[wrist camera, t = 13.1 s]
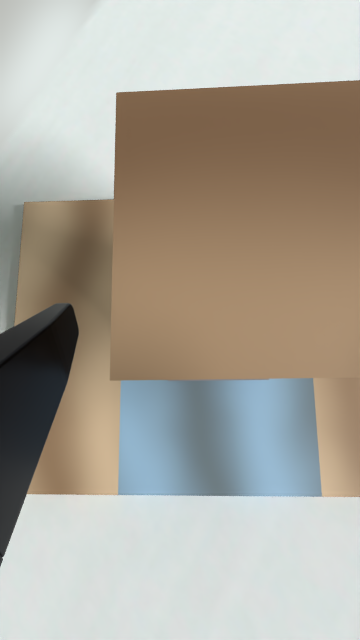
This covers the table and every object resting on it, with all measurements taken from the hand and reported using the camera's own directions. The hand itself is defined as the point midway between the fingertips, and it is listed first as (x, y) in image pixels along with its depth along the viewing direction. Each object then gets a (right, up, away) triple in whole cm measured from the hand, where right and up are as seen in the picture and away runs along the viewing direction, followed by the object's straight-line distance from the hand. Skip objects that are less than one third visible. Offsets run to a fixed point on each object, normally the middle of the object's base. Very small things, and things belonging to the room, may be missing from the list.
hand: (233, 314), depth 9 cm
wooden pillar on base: (0, -1, +8) cm, 9 cm away
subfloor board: (0, -1, +10) cm, 10 cm away
